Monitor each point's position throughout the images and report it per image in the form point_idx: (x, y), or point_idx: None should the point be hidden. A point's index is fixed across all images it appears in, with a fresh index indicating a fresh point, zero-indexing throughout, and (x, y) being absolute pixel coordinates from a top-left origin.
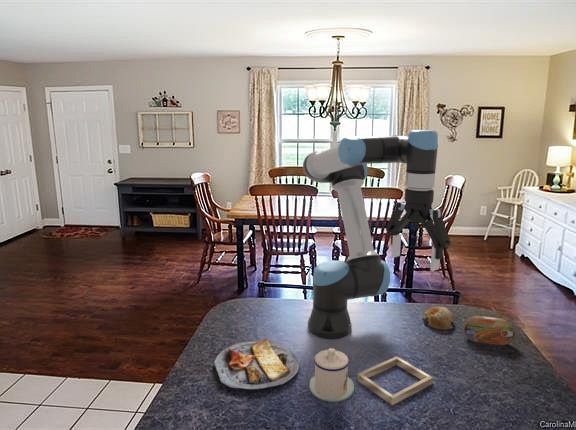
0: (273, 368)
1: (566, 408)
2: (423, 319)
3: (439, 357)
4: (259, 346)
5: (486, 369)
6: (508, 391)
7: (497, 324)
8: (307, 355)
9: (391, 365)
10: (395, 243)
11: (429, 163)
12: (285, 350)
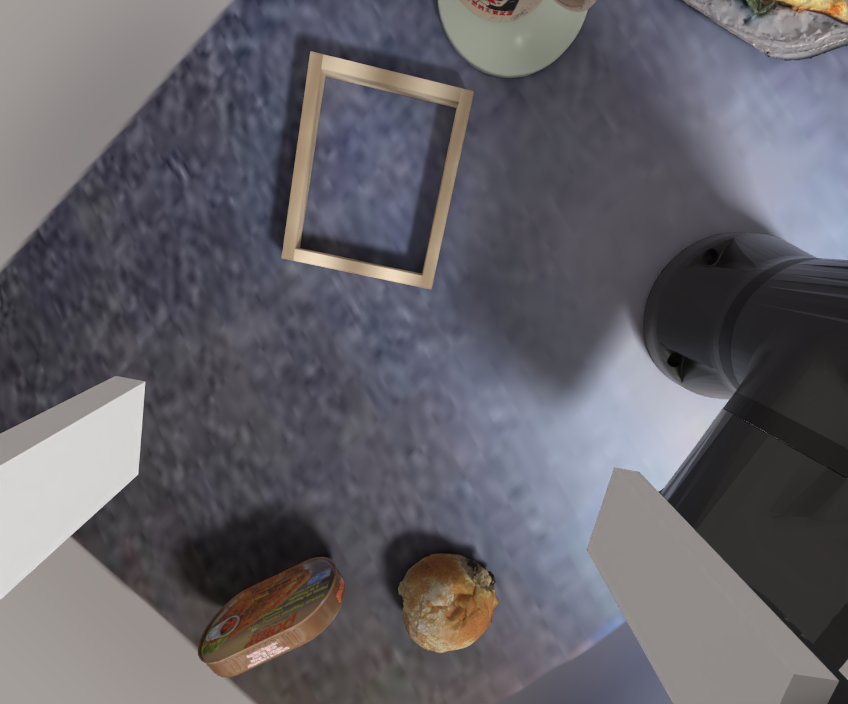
0: None
1: None
2: (489, 573)
3: (344, 406)
4: None
5: (213, 439)
6: (118, 375)
7: (241, 640)
8: (688, 103)
9: (427, 248)
10: (695, 589)
11: None
12: (770, 39)
